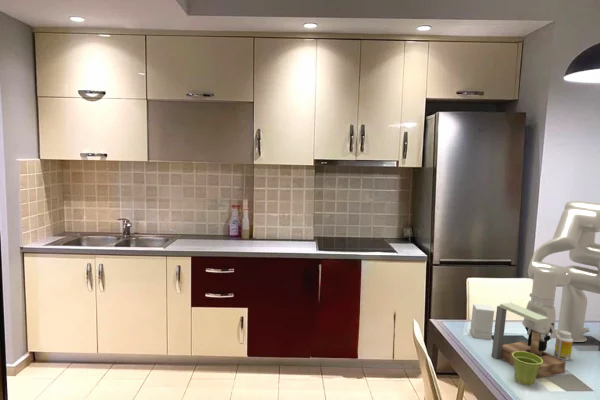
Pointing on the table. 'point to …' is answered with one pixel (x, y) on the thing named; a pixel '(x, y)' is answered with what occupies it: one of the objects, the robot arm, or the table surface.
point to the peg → (535, 343)
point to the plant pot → (526, 367)
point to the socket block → (550, 362)
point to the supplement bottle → (563, 345)
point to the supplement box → (482, 321)
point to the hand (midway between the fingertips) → (536, 347)
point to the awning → (501, 324)
